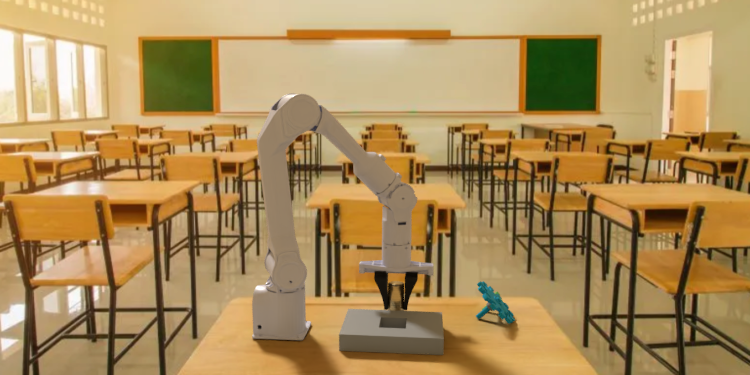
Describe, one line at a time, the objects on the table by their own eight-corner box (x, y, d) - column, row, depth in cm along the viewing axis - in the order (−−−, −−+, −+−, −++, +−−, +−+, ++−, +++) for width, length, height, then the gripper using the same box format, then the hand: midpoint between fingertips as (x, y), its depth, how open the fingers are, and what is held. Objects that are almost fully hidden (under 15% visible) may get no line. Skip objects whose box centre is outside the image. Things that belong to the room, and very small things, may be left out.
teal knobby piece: (515, 325, 109) (479, 283, 111) (491, 344, 111) (456, 303, 113) (519, 311, 120) (486, 274, 122) (497, 329, 121) (465, 292, 123)
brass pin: (387, 320, 116) (387, 286, 114) (388, 314, 119) (388, 280, 118) (403, 320, 115) (403, 286, 114) (404, 314, 118) (404, 281, 117)
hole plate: (339, 350, 102) (339, 334, 102) (348, 323, 114) (348, 308, 113) (443, 355, 100) (443, 338, 100) (441, 327, 112) (442, 312, 112)
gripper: (433, 237, 118) (432, 302, 120) (361, 235, 119) (361, 299, 121) (434, 246, 111) (432, 315, 113) (357, 244, 112) (357, 312, 114)
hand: (395, 308), depth 117 cm, fingers closed on brass pin, 3 cm apart
